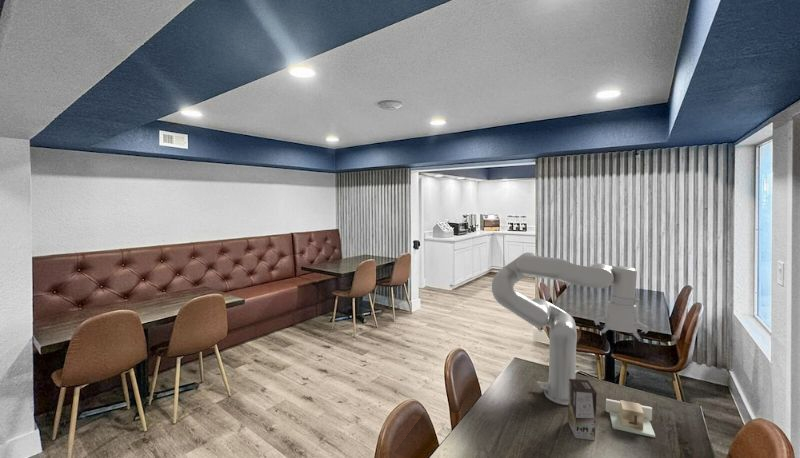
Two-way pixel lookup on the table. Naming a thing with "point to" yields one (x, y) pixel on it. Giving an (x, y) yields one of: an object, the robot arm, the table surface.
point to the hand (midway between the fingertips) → (619, 345)
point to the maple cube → (631, 414)
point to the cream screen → (615, 408)
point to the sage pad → (646, 428)
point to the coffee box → (582, 409)
